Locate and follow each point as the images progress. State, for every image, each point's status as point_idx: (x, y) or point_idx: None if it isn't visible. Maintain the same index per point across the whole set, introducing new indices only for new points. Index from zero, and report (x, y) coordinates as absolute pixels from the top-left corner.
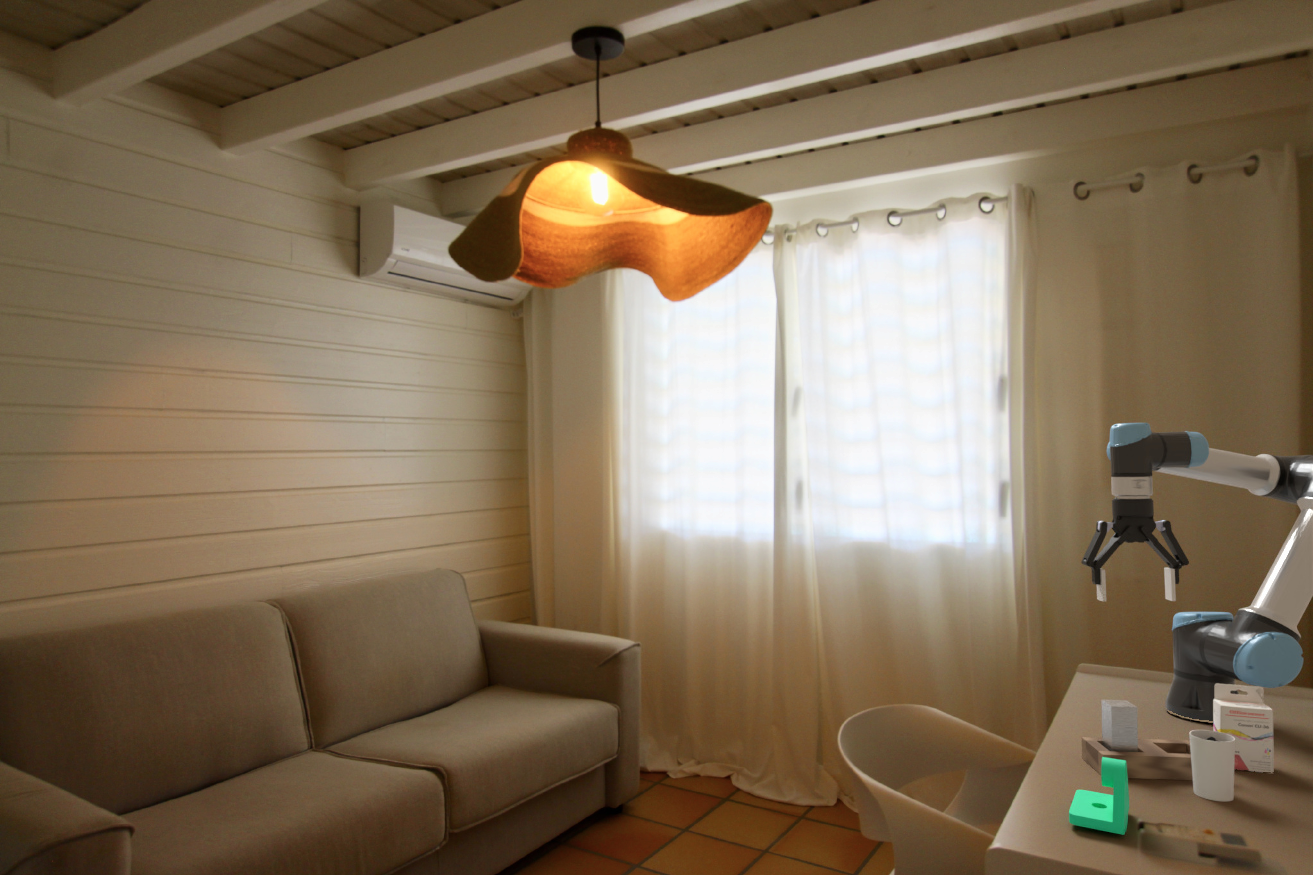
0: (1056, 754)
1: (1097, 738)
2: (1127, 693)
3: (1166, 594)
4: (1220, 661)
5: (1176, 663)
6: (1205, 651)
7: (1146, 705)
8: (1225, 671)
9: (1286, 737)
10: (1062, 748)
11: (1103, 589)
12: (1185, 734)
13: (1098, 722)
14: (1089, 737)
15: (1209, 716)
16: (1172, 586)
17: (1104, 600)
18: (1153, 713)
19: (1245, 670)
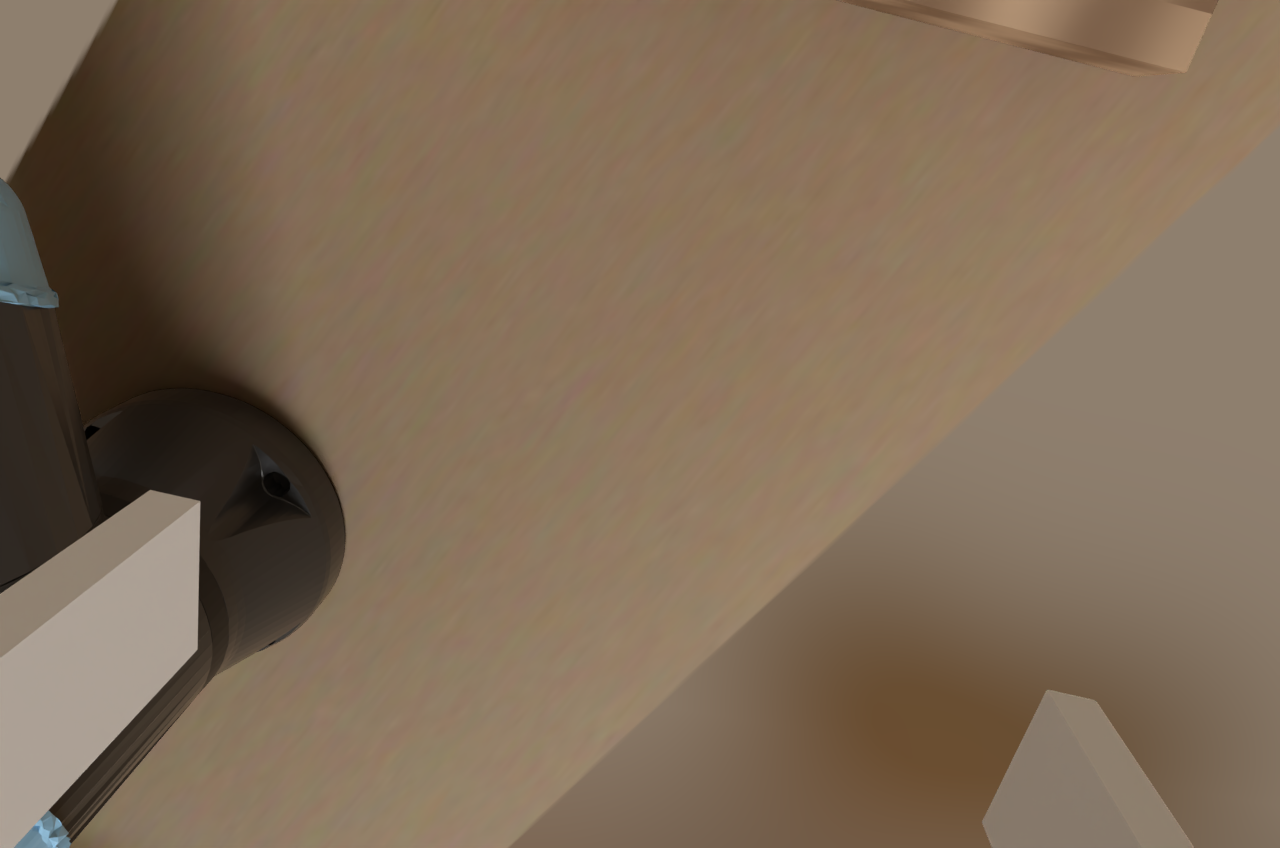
0: (1208, 144)
1: (1122, 37)
2: (344, 789)
3: (159, 660)
4: (60, 412)
5: (194, 671)
6: (67, 535)
7: (364, 657)
8: (74, 393)
9: (57, 213)
10: (1114, 219)
11: (1164, 830)
12: (446, 312)
13: (699, 506)
14: (1150, 59)
15: (249, 422)
16: (35, 612)
17: (1077, 703)
18: (400, 569)
19: (13, 214)
